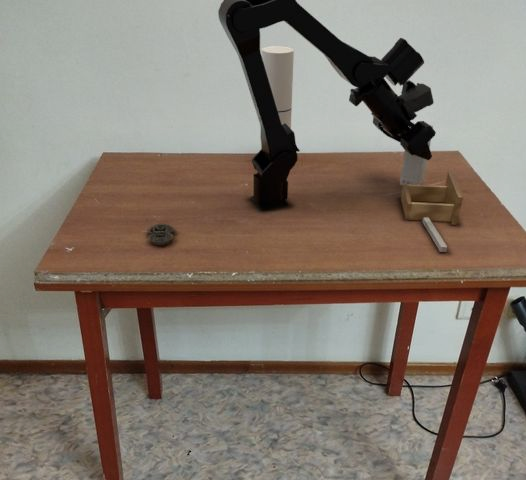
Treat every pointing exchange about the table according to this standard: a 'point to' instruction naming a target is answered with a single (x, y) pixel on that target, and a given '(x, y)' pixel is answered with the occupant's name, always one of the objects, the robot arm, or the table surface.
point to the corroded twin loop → (160, 234)
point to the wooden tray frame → (433, 193)
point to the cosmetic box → (413, 168)
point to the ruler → (434, 234)
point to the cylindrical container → (280, 78)
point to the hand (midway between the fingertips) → (422, 152)
